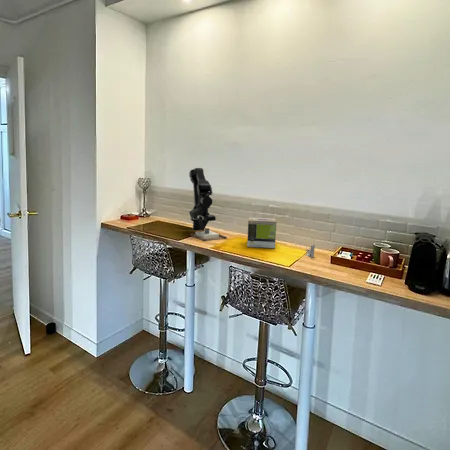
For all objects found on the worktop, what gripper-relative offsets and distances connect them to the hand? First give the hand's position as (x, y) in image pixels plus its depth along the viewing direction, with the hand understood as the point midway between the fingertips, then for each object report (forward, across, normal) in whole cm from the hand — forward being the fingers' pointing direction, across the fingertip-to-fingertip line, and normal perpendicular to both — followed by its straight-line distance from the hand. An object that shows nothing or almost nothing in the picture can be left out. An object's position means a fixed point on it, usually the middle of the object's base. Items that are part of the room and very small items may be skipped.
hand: (202, 230), depth 207 cm
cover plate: (+3, +5, 0) cm, 6 cm away
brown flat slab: (+3, +6, 0) cm, 7 cm away
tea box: (+4, +33, +17) cm, 38 cm away
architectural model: (+4, +59, +21) cm, 63 cm away
